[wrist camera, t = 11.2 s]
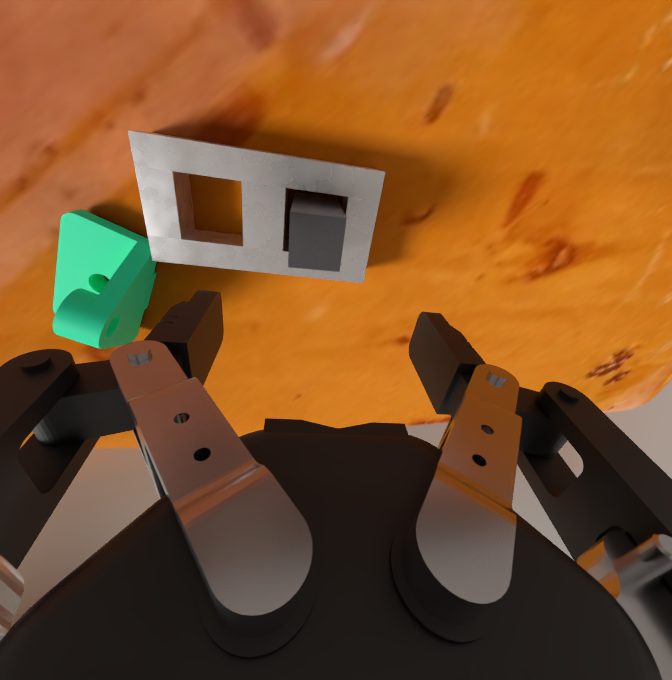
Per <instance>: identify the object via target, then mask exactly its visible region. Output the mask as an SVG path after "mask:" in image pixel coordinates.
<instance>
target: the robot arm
mask: <svg viewBox="0 0 672 680" xmlns="http://www.w3.org/2000/svg"><path fill="white" fill-rule="evenodd" d="M222 340H223V315H222V300H221V294H220V293H219V292H212V291H201V290H198V291H197V292H196V294H195V295H194V296H193V298H192V299H191V300H190V302H181V303H179V304H177V305H175V306H173V307H171V308H170V310H169V311H168V312H167V313H166V314H165V316H164V317H163V318H162V319H161V320H160V323H158V324H157V325H156V326H155V328H154V329H153V330H152V331H151V332H150V334H149V335H148V336H147V337H146V338H145V339H144V340H143V341H136V342H131V343H128V344H125V345H123V346H121V347H119V348H117V349H116V350H115V351H113V353H112V354H111V355H110V358H109V360H106V361H98V362H90V363H81V364H75V362H74V359H73V357H72V355H71V354H70V353H69V352H67V351H64V350H60V349H45V350H38V351H33V352H29V353H26V354H23V355H20V356H17V357H15V358H13V359H11V360H9V361H8V362H6V363H5V364H3V365H2V366H1V367H0V680H672V479H671V478H670V477H669V476H668V475H667V474H666V473H665V472H664V471H663V470H662V469H661V468H660V467H659V466H657V465H656V464H655V463H654V462H653V461H652V460H651V459H650V458H649V457H648V456H647V455H646V454H645V453H644V452H643V451H642V450H641V449H640V448H639V447H638V446H637V445H636V444H635V443H634V442H633V441H632V440H631V439H630V438H629V437H628V436H627V435H626V434H625V433H624V432H623V431H622V430H620V429H619V428H618V427H617V426H616V425H615V424H614V423H613V422H612V421H611V420H610V419H609V418H608V417H607V416H606V415H605V414H604V413H603V412H602V411H601V410H600V409H599V408H598V407H597V406H596V405H595V404H594V403H593V402H592V401H591V400H590V399H589V398H588V397H586V396H585V395H584V394H583V393H581V392H580V391H578V390H576V389H575V388H573V387H570V386H568V385H566V384H562V383H559V382H547V383H546V384H545V385H544V386H543V388H542V389H541V391H540V392H537V391H533V390H529V389H526V388H522V387H519V382H518V381H517V379H516V378H515V377H514V376H513V375H512V374H510V373H509V372H507V371H506V370H504V369H502V368H500V367H497V366H494V365H489V364H486V363H485V362H484V361H483V359H482V358H481V357H480V356H479V354H478V353H477V352H476V351H475V350H474V348H472V346H471V345H470V343H469V342H467V340H466V338H465V337H464V336H463V335H462V333H461V332H459V331H458V330H456V329H455V328H453V327H452V326H450V325H449V323H448V322H447V321H446V320H445V318H444V317H443V316H442V315H441V314H440V313H430V312H421V313H420V315H419V317H418V320H417V323H416V326H415V329H414V332H413V335H412V338H411V341H410V345H409V356H410V359H411V361H412V363H413V365H414V367H415V369H416V371H417V373H418V376H419V378H420V380H421V382H422V384H423V386H424V388H425V390H426V392H427V395H428V397H429V399H430V401H431V403H432V405H433V407H434V409H435V411H436V414H448V415H451V419H450V421H449V423H448V425H447V427H446V429H445V432H444V434H443V436H442V439H441V441H440V443H439V446H438V448H437V447H435V446H433V445H431V444H430V443H428V442H426V441H424V440H422V439H419V438H417V437H413V436H411V435H408V433H407V430H406V427H405V424H396V423H367V424H362V425H356V426H351V427H345V428H333V427H328V426H324V425H320V424H316V423H312V422H308V421H304V420H292V419H266V418H265V425H264V430H259V431H255V432H252V433H248V434H246V435H243V436H241V437H238V435H237V434H236V433H235V431H234V430H233V428H232V427H231V425H230V424H229V423H228V421H227V420H226V418H225V417H224V415H223V414H222V413H221V411H220V410H219V408H218V407H217V406H216V404H215V403H214V401H213V400H212V398H211V397H210V396H209V394H208V393H207V391H206V390H205V388H204V387H203V385H204V383H205V380H206V378H207V376H208V373H209V371H210V369H211V366H212V364H213V362H214V360H215V357H216V355H217V353H218V350H219V348H220V346H221V343H222ZM130 430H132V431H133V433H134V436H135V438H136V441H137V443H138V446H139V448H140V451H141V453H142V456H143V458H144V460H145V463H146V465H147V468H148V470H149V473H150V475H151V478H152V481H153V483H154V486H155V489H156V492H157V495H158V497H159V500H158V501H157V502H156V503H154V504H153V505H152V506H151V507H150V508H148V509H147V510H146V511H145V512H144V513H143V514H142V515H140V516H139V517H138V518H136V519H135V520H134V521H133V522H132V523H130V524H129V525H128V526H127V527H125V528H124V529H123V530H122V531H121V532H119V533H118V534H117V535H116V536H115V537H113V538H112V539H111V540H110V541H109V542H108V543H106V544H105V545H104V546H103V547H101V548H100V549H99V550H98V551H97V552H95V553H94V554H93V555H92V556H91V557H89V558H88V559H87V560H86V561H85V562H83V563H82V564H81V565H80V566H79V567H77V568H76V569H75V570H74V571H73V572H71V573H70V574H69V575H68V576H66V577H65V578H64V579H63V580H62V581H60V582H59V583H58V584H57V585H56V586H54V587H53V588H52V589H51V590H50V591H49V592H47V593H46V594H45V595H44V596H43V597H42V598H40V599H39V600H38V601H37V602H36V603H35V604H34V605H33V606H32V607H30V608H29V609H28V610H27V611H26V612H25V614H23V615H22V617H21V618H20V619H19V620H18V621H17V622H16V623H15V624H14V625H13V626H12V622H13V618H14V615H15V613H16V610H17V608H18V606H19V603H20V601H21V598H22V595H23V592H24V580H23V577H22V575H21V574H20V573H19V572H18V571H17V568H18V567H19V565H20V564H21V562H22V560H23V559H24V557H25V555H26V554H27V552H28V551H29V549H30V548H31V546H32V544H33V543H34V541H35V540H36V538H37V537H38V535H39V533H40V532H41V530H42V528H43V527H44V525H45V524H46V522H47V520H48V519H49V517H50V516H51V514H52V513H53V511H54V509H55V508H56V506H57V505H58V503H59V501H60V500H61V498H62V497H63V495H64V494H65V492H66V490H67V489H68V487H69V485H70V484H71V482H72V481H73V479H74V478H75V476H76V474H77V473H78V471H79V470H80V468H81V466H82V465H83V463H84V462H85V460H86V458H87V457H88V455H89V454H90V452H91V450H92V449H93V447H94V446H95V444H96V443H97V441H98V439H99V438H100V436H105V435H110V434H115V433H120V432H125V431H130ZM32 431H33V433H34V434H33V435H32V436H31V437H30V438H29V439H28V440H27V442H26V443H25V444H24V445H23V446H22V447H21V444H22V443H23V441H24V440H25V438H26V437H27V436H28V435H29V434H30V433H31V432H32ZM567 440H568V441H569V442H570V444H571V445H572V446H573V447H574V448H575V450H576V451H577V452H578V453H579V455H580V456H581V458H582V460H583V466H584V467H583V472H582V473H581V475H580V476H579V477H578V478H577V477H576V476H575V475H574V473H573V472H572V471H571V469H570V468H569V467H568V465H567V464H566V462H565V461H564V460H563V458H562V457H561V456H560V454H559V453H558V451H559V450H560V449H561V448H562V446H563V445H564V444H565V443H566V442H567ZM20 447H21V449H20ZM19 449H20V450H19ZM517 464H518V466H519V468H520V469H521V471H522V472H523V475H524V476H525V478H526V480H527V481H528V482H529V485H530V486H531V488H532V490H533V491H534V493H535V495H536V496H537V498H538V500H539V501H540V503H541V505H542V507H543V508H544V510H545V512H546V513H547V515H548V517H549V519H550V520H551V522H552V524H553V525H554V527H555V528H556V530H557V532H558V534H559V535H560V537H561V539H562V540H563V542H564V544H565V546H566V547H567V549H568V551H569V552H570V554H571V556H572V558H573V559H574V560H572V559H571V558H570V557H569V556H568V555H566V554H565V553H564V552H563V551H561V550H560V549H559V548H558V547H557V546H556V545H554V544H553V543H552V542H551V541H550V540H548V539H547V538H546V537H545V536H543V535H542V534H541V533H540V532H539V531H537V530H536V529H535V528H534V527H533V526H531V525H530V524H529V523H528V522H527V521H525V520H524V519H523V518H522V517H521V516H519V515H518V514H517V513H516V512H515V511H513V509H512V500H513V491H514V483H515V475H516V467H517Z"/></svg>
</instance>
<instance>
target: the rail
mask: <svg viewBox="0 0 672 680" xmlns="http://www.w3.org/2000/svg"><path fill="white" fill-rule="evenodd" d="M128 134H129V139H130V144H131V150H132V155H133V160H134V166H135V171H136V176H137V181H138V187H139V192H140V197H141V203H142V208H143V213H144V218H145V224H146V229H147V234H148V240H149V245H150V250H151V256H152V261H159V262H168V263H178V264H187V265H197V266H206V267H215V268H225V269H234V270H244V271H253V272H263V273H272V274H282V275H291V276H300V277H310V278H319V279H329V280H338V281H348V282H357V283H363V282H364V277H365V272H366V267H367V262H368V257H369V252H370V247H371V242H372V237H373V232H374V227H375V222H376V217H377V212H378V207H379V202H380V197H381V192H382V187H383V182H384V177H385V171H382V170H379V169H375V168H369V167H363V166H357V165H350V164H344V163H338V162H332V161H326V160H320V159H313V158H307V157H301V156H295V155H289V154H282V153H276V152H270V151H264V150H258V149H252V148H245V147H239V146H233V145H227V144H221V143H214V142H208V141H202V140H196V139H190V138H184V137H177V136H171V135H165V134H159V133H153V132H142V131H129V130H128ZM190 174H196V175H202V176H209V177H216V178H223V179H230V180H237V181H242V215H243V235H241V234H233V233H224V232H216V231H208V230H200V229H195V221H194V212H193V202H192V193H191V183H190ZM288 188H291V189H298V190H305V191H312V192H319V193H326V194H332V195H339V196H343V201H342V210H343V212H344V214H345V216H346V218H347V220H346V227H345V235H344V243H343V250H342V258H341V265H340V272H335V271H323V270H312V269H301V268H290V267H288V254H289V240H286V220H287V200H288Z"/></svg>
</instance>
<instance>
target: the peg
mask: <svg viewBox="0 0 672 680" xmlns="http://www.w3.org/2000/svg"><path fill="white" fill-rule="evenodd" d="M346 220H347V218H346V216H345V214H344V212H343V210H342V208H341V206H340V204H339V202H338V200H337V199H336V197H328V196H320V195H311V194H303V193H295V195H294V199H293V203H292V206H291V210H290V225H289V254H288V267H290V268H301V269H312V270H323V271H335V272H340V265H341V258H342V250H343V243H344V235H345V227H346Z"/></svg>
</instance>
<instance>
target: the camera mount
mask: <svg viewBox="0 0 672 680" xmlns="http://www.w3.org/2000/svg"><path fill="white" fill-rule="evenodd" d="M156 262H157V261H152V256H151V250H150V245H149V240H148V239H147V238H145V237H143V236H140V235H138V234H136V233H134V232H131V231H129V230H127V229H125V228H123V227H120V226H118V225H116V224H114V223H112V222H109V221H107V220H105V219H103V218H100V217H98V216H96V215H94V214H92V213H89V212H87V211H85V210H76V211H72V212H69V213H65V214H64V215H62V217H61V222H60V234H59V245H58V256H57V267H56V278H55V289H54V301H53V311H54V313H55V317H54V321H53V331H54V333H55V334H57V335H59V336H63V337H66V338H69V339H72V340H75V341H78V342H81V343H84V344H87V345H90V346H93V347H96V348H99V349H106V348H110V347H115V346H119V345H124V344H128V343H131V342H132V341H133V340H134V339H135V338H136V337H137V336H138V332H139V328H140V324H141V320H142V317H143V313H144V310H145V309H146V308H147V307H148V304H149V300H150V296H151V292H152V289H153V285H154V281H155V277H156V274H157V272H155V271H154V270H155V266H156ZM103 275H104V276H106V277H107V278H108V279H109V281H107V280H106V279H105V278H104V276H103Z"/></svg>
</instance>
